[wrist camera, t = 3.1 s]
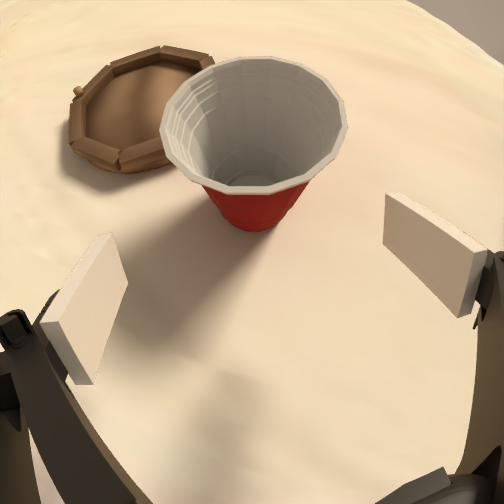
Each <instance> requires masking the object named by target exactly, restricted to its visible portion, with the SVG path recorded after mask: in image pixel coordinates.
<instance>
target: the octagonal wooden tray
mask: <svg viewBox="0 0 504 504" xmlns="http://www.w3.org/2000/svg"><path fill="white" fill-rule="evenodd" d="M214 64H215V62H214V60H213V58H212V56H209V54H206V53H201V52H197V51H192V50H187V49H181V48H176V47H170V46H163V47H162V48H161V49H160V46H157V47H154V48H151V49H148V50H145V51H141V52H138V53H135V54H132V55H130V56H127V57H124V58H121V59H118V60H116V61H113V62H110V66H109V65H106V66H105V67H104V68H103V69H102V70H101V71H100V72H99V73H98V74H97V75H96V76H95V77H94V78H93V79H92V80H91V81H90V82H89V83H88V84H87V85H86V86H85V87H84V88H83V89H82V88H81V86H77V87H76V88H74V90H73V92H74V93H75V95H76V97H75V98H74V99H73V100H72V101H73V103H71V104H70V116H69V144H70V146H71V147H72V149H73V150H74V151H75V153H76V154H78V155H81V156H83V157H85V158H87V159H88V160H89V161H90V162H91V163H92V164H94V165H95V166H97V167H99V168H101V169H104V170H107V171H110V172H116V173H138V172H143V171H149V170H152V169H156V168H159V167H162V166H164V165H167V164H169V163H172V162H171V161H170V160H169V159H168V158H167V157H166V154H165V150H164V147H163V143H162V139H161V135H160V131H159V129H160V125H161V121H162V117H163V113H164V110H165V106H166V103H167V102H168V101H169V100H170V98H171V97H172V96H173V95H174V93H175V92H176V91H177V90H178V89H179V87H180V86H181V85H182V84H183V82H185V81H186V80H188V79H189V78H191V77H192V76H194V75H196V74H197V73H199V72H200V71H202V70H204V69H205V68H207V67H208V66H211V65H214Z"/></svg>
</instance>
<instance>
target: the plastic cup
mask: <svg viewBox="0 0 504 504" xmlns="http://www.w3.org/2000/svg"><path fill="white" fill-rule="evenodd" d="M347 130H348V123H347V117H346V111H345V106H344V101H343V100H342V98H341V97H340V96H339V94H338V93H337V92H336V90H335V89H334V88H333V86H332V85H331V84H330V82H329V81H328V80H327V79H326V78H324V77H323V76H321V75H319V74H318V73H316V72H315V71H313V70H311V69H310V68H308V67H306V66H305V65H303V64H300V63H297V62H293V61H289V60H285V59H281V58H277V57H272V56H257V57H238V58H234V59H231V60H227V61H224V62H221V63H217V64H214V65H211V66H208V67H207V68H205V69H204V70H202V71H200V72H199V73H197V74H196V75H194V76H192V77H191V78H189V79H188V80H186V81H185V82H183V84H182V85H181V86H180V87H179V89H178V90H177V91H176V92H175V93H174V95H173V96H172V97H171V98H170V100H169V101H168V102H167V103H166V106H165V110H164V113H163V117H162V121H161V125H160V129H159V131H160V135H161V139H162V143H163V147H164V150H165V154H166V157H167V158H168V159H169V160H170V161H171V162H172V163H173V164H174V165H175V166H176V167H177V168H178V169H179V170H180V171H181V172H182V173H183V174H184V175H185V176H186V177H187V178H188V179H189V180H191V181H192V182H195V183H198V184H200V185H202V186H203V188H204V189H205V191H206V192H207V194H208V195H209V196H210V198H211V199H212V201H213V202H214V204H215V205H216V206H217V207H218V208H219V210H220V211H221V213H222V215H223V216H224V217H225V218H226V219H227V220H228V221H229V222H230V223H231V224H232V225H234V226H236V227H238V228H240V229H242V230H245V231H262V230H265V229H268V228H271V227H273V226H274V225H275V224H276V223H278V222H279V221H280V220H281V219H282V218H283V217H284V216H285V214H286V213H287V211H288V210H289V209H290V208H291V207H292V206H293V205H294V203H295V202H296V201H297V199H298V198H299V196H300V195H301V193H302V192H303V190H304V189H305V187H306V186H307V184H308V183H309V181H310V180H311V179H312V178H313V177H314V176H315V175H316V174H318V173H319V172H320V171H321V170H322V169H323V168H325V167H326V166H327V165H328V164H329V163H330V162H331V161H333V160H334V159H335V158H336V157H337V155H338V153H339V150H340V148H341V145H342V143H343V140H344V138H345V135H346V132H347Z"/></svg>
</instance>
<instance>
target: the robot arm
mask: <svg viewBox="0 0 504 504" xmlns="http://www.w3.org/2000/svg"><path fill="white" fill-rule="evenodd" d="M383 245H385V246H386V247H387V248H388V249H389V250H390V251H391V252H392V253H393V254H394V255H395V256H396V257H397V258H398V259H399V260H400V261H401V262H402V263H404V264H405V265H406V266H407V267H408V268H409V269H410V270H411V271H412V272H413V273H414V274H415V275H416V276H417V277H418V278H419V279H420V280H421V281H422V282H423V283H424V284H425V285H426V286H427V287H428V288H429V289H430V290H431V291H432V292H433V293H434V294H435V295H436V296H437V297H438V298H439V300H440V301H441V302H442V303H443V304H444V305H445V306H446V307H447V308H448V309H449V310H450V311H451V312H452V313H453V314H454V315H455V316H456V318H460V317H462V316H465V315H468V314H471V311H472V308H473V305H474V302H475V300H476V301H477V302H478V303H479V304H480V308H479V311H478V314H477V317H476V320H475V323H474V326H473V329H475V328H476V326H477V325H478V341H477V362H476V375H475V385H474V394H473V402H472V410H471V416H470V423H469V429H468V434H467V439H466V444H465V449H464V454H463V457H462V460H461V463H460V465H459V467H458V468H457V470H456V472H455V474H451V475H447V473H446V471H445V469H444V467H441V468H439V469H437V470H435V471H433V472H431V473H429V474H427V475H424V476H422V477H420V478H418V479H415V480H413V481H411V482H408V483H406V484H404V485H402V486H401V487H399V488H398V489H396V490H395V491H394V492H392V493H391V494H389V495H388V496H386V497H385V498H383V499H381V500H380V501H378V502H377V503H375V504H504V251H500V252H496V253H495V254H494V253H493V252H492V251H490V250H489V249H487V248H486V247H485V246H483V245H482V244H480V243H479V242H477V241H476V240H474V239H473V238H471V237H470V236H469V235H467V234H466V233H464V232H463V231H461V230H459V229H458V228H456V227H455V226H453V225H452V224H450V223H449V222H447V221H445V220H444V219H442V218H441V217H439V216H437V215H436V214H434V213H433V212H431V211H429V210H428V209H426V208H424V207H423V206H421V205H419V204H418V203H416V202H414V201H413V200H411V199H409V198H408V197H406V196H404V195H402V194H401V193H399V192H393V193H385V215H384V232H383ZM127 285H128V281H127V278H126V275H125V272H124V269H123V266H122V263H121V260H120V256H119V253H118V250H117V246H116V243H115V240H114V236H113V233H108V234H102V235H98V236H97V238H96V239H95V240H94V242H93V243H92V244H91V246H90V247H89V248H88V250H87V251H86V253H85V254H84V255H83V257H82V258H81V260H80V261H79V262H78V264H77V265H76V267H75V268H74V270H73V271H72V273H71V274H70V275H69V277H68V278H67V280H66V281H65V283H64V284H63V286H62V287H61V289H59V290H57V291H56V292H55V293H54V294H53V295H52V296H51V297H50V298H49V299H48V301H47V302H46V304H45V306H44V307H43V309H42V310H41V313H39V315H38V317H37V318H36V320H35V321H34V323H33V325H31V324H30V322H29V320H28V318H27V316H26V314H25V312H24V311H23V310H20V309H16V310H12V311H10V312H7V313H6V314H4V315H3V316H1V317H0V343H1V345H2V347H3V348H4V350H5V351H4V352H0V504H41V501H40V496H39V492H38V487H37V482H36V477H35V472H34V466H33V460H32V454H31V447H30V439H29V430H30V432H31V435H32V437H33V440H34V442H35V444H36V447H37V449H38V451H39V454H40V456H41V458H42V460H43V462H44V464H45V467H46V469H47V471H48V473H49V475H50V477H51V479H52V481H53V483H54V485H55V486H56V488H57V490H58V492H59V494H60V496H61V498H62V499H63V501H64V503H65V504H153V503H152V502H151V501H150V500H149V498H148V497H147V496H146V495H145V494H144V493H143V492H142V490H141V489H140V488H139V487H138V486H137V485H136V483H135V482H134V481H133V480H132V479H131V477H130V476H129V475H128V474H127V472H126V471H125V470H124V469H123V467H122V466H121V465H120V463H119V462H118V461H117V460H116V458H115V457H114V456H113V454H112V453H111V451H110V450H109V449H108V447H107V446H106V445H105V443H104V442H103V440H102V439H101V437H100V436H99V435H98V433H97V432H96V430H95V429H94V427H93V426H92V424H91V423H90V421H89V420H88V418H87V416H86V415H85V413H84V412H83V410H82V408H81V407H80V405H79V404H78V402H77V400H76V399H75V397H74V395H73V394H72V392H71V390H70V388H69V387H68V385H67V384H66V382H65V380H66V377H67V375H68V374H69V375H70V377H71V378H72V380H73V381H74V383H75V385H94V382H95V379H96V375H97V372H98V369H99V366H100V362H101V359H102V356H103V353H104V350H105V347H106V344H107V341H108V338H109V335H110V332H111V329H112V326H113V323H114V320H115V318H116V315H117V312H118V309H119V306H120V304H121V301H122V298H123V296H124V293H125V290H126V288H127ZM28 427H29V430H28Z"/></svg>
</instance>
